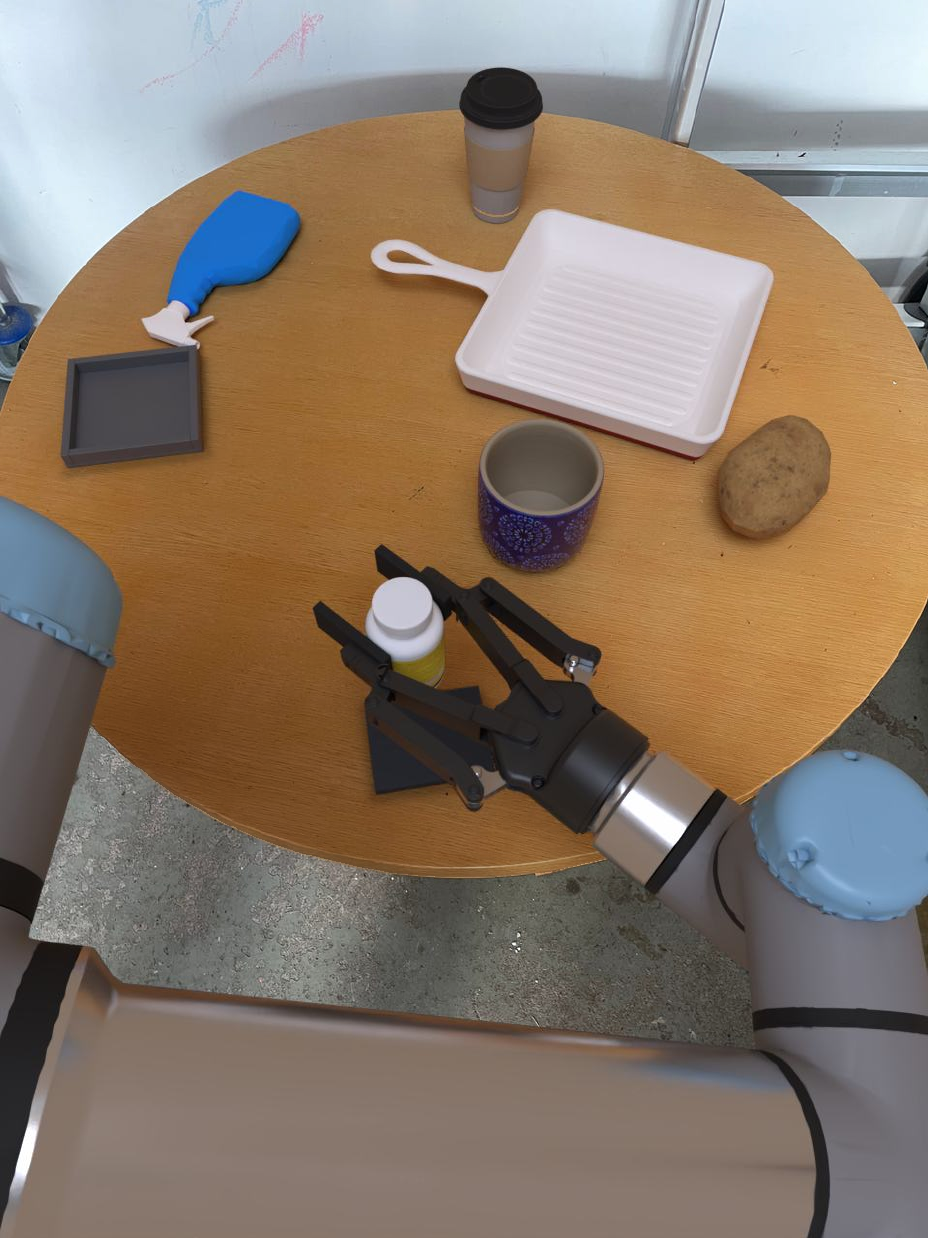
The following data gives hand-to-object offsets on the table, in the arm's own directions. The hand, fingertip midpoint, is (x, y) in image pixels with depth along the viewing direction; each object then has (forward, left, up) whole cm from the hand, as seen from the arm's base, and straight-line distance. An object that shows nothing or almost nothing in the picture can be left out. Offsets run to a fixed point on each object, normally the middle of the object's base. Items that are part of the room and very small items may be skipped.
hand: (350, 585), depth 61 cm
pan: (+25, +42, -18) cm, 52 cm away
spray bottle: (-11, +56, -18) cm, 60 cm away
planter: (+17, +13, -18) cm, 28 cm away
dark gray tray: (-21, +36, -17) cm, 45 cm away
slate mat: (+4, -6, -17) cm, 19 cm away
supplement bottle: (+3, -4, -7) cm, 8 cm away
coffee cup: (+23, +63, -18) cm, 70 cm away
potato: (+40, +13, -18) cm, 46 cm away
